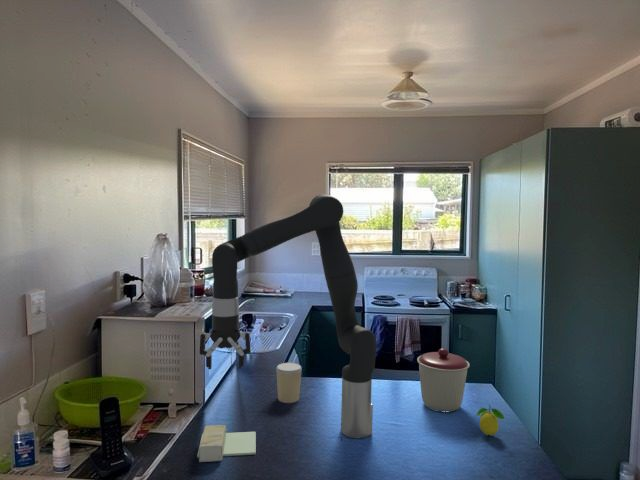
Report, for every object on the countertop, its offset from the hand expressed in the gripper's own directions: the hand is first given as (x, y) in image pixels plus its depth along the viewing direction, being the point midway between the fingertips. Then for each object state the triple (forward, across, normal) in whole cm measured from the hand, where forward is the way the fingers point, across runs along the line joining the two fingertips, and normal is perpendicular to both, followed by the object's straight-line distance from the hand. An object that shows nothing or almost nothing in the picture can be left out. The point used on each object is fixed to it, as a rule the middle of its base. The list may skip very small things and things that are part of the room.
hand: (225, 368), depth 128 cm
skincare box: (+20, -3, +3) cm, 21 cm away
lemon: (+23, +81, -3) cm, 84 cm away
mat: (+23, +1, 0) cm, 23 cm away
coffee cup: (+23, +21, +31) cm, 44 cm away
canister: (+23, +75, +19) cm, 81 cm away
